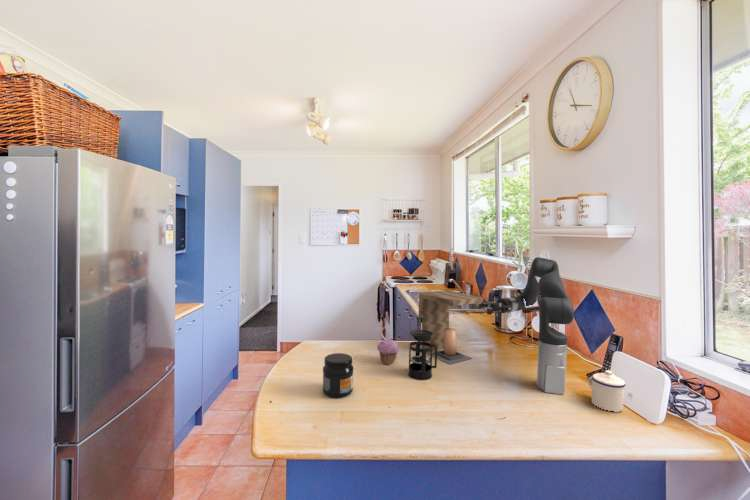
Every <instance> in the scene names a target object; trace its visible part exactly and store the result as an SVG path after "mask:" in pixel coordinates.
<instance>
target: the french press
mask: <svg viewBox="0 0 750 500" xmlns="http://www.w3.org/2000/svg"><path fill="white" fill-rule="evenodd" d="M416 319H417V320H418V319H420V322H421V330H418V329H412V330H410V331H409V334H410V335H411V336H412V337H413V338H414V340H415V341H412V342H410V343H409V344H408V347H409V349H408V351H409V352H408V353H409V354H408V372H407V375H408V377H409V378H411V379H413V380H416V381H417V380H418V381H427V380H430V379H432V378H433V373H432V372H433V371H432V369H436V368H437V363H438V362H437V361H438V359H437V352H438V349H437V346H436V345H432V344H430V343H427V342H421V341H430V340H431V339H432V335H433V333H432V332H430V331H427V330H422V322H423V320H426V319H427V318H426V317H418V316H416ZM421 345H426V346H429V347H431V348H427V349H421ZM413 346H415V347H413ZM432 347H435V350H434V352H435V358H434V364H433V357H432V353H433V350H432ZM412 351H413V352H415V355H412V354H411V353H412ZM421 352H422V353H421ZM427 353H430V355H429V356H427Z"/></svg>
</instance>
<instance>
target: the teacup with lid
mask: <svg viewBox="0 0 750 500" xmlns="http://www.w3.org/2000/svg"><path fill="white" fill-rule="evenodd" d="M587 382H588V387H589V388H590V391H591V403H592V405H593V404H594V405H593V406H595V407H596V406H597V407H596V408H598V407H599V408H598V409H600V408H601V409H600V410H603V409H604V410H603V411H606V410H608V411H607V412H610V411H614V412H613V413H620V411H621V412H623V411H624V400H625V398H624V397H625V387H626V382H625V380H624V379H622V378H621V377H618V376H616V375H615V374H614V373H613V372H612V371H611V370H607V369H605V371H604V372H597V373H594V374H593V375H592V376H590V377H589V378H588V381H587Z"/></svg>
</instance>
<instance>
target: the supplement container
mask: <svg viewBox="0 0 750 500" xmlns="http://www.w3.org/2000/svg"><path fill="white" fill-rule="evenodd" d="M323 360H324V361H323V362H324V365H323V366H322V392H323V394H324V395H325V396H327V397H329V398H334V399H340V398H345V397H348V396H350V395H351V393H353V390H354V368H355V367H354V365H353V357H352V355H350V354H347V353H342V352H341V353H340V352H336V353H331V354H328V355H326V356H325V357H324V359H323Z"/></svg>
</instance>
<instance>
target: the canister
mask: <svg viewBox="0 0 750 500" xmlns="http://www.w3.org/2000/svg"><path fill="white" fill-rule="evenodd" d="M457 334H458V333H457V329H456V328H452V327H449V328H445V329H444V348H443V350H444V355H446V356H448V357H452V356H456V352H457Z"/></svg>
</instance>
